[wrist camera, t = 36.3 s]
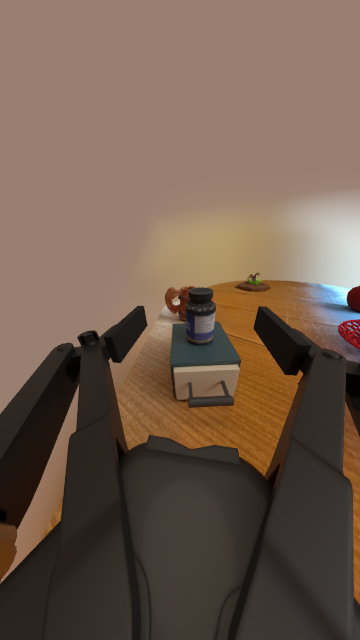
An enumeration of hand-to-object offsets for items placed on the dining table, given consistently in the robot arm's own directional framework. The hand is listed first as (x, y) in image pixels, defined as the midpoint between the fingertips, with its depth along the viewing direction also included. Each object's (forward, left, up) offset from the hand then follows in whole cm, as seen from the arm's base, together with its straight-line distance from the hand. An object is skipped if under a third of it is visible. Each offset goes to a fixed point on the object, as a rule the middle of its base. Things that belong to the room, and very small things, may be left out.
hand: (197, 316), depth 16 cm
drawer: (-2, +7, -20) cm, 21 cm away
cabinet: (-4, +10, -21) cm, 23 cm away
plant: (0, +102, -21) cm, 104 cm away
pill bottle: (-4, +10, -11) cm, 16 cm away
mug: (-22, +33, -21) cm, 45 cm away
